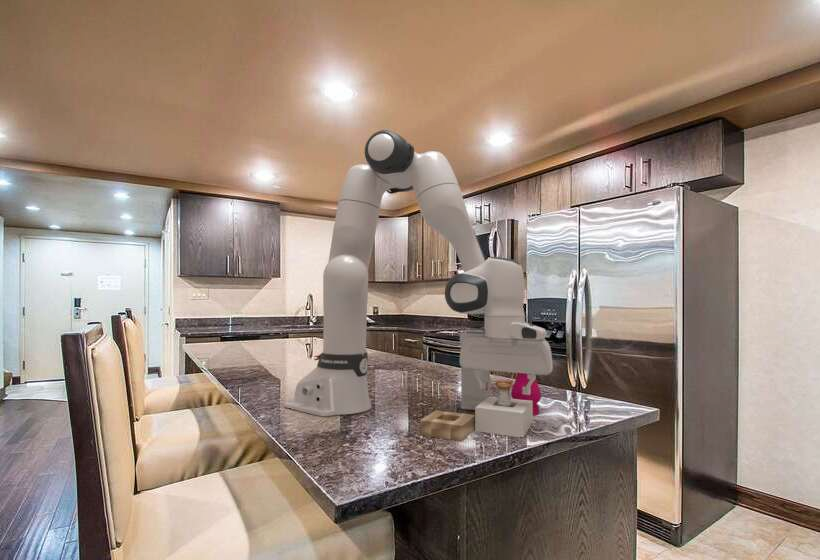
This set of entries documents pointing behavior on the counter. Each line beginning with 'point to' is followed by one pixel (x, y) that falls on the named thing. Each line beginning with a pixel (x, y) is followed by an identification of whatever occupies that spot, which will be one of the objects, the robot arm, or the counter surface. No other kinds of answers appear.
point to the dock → (504, 417)
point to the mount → (447, 425)
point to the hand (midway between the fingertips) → (504, 392)
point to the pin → (504, 392)
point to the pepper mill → (534, 394)
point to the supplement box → (473, 389)
